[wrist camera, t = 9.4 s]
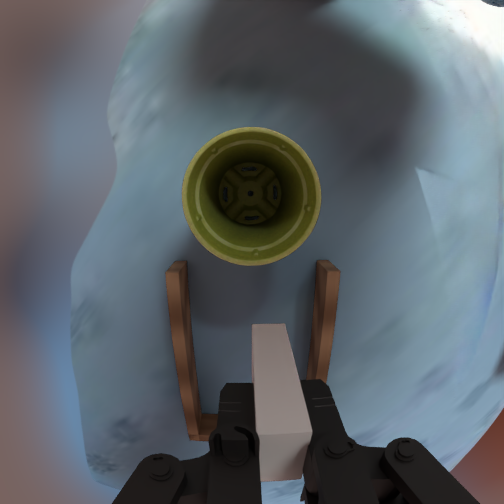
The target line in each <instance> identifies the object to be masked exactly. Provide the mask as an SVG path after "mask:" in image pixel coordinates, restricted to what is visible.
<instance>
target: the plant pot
mask: <svg viewBox="0 0 504 504" xmlns="http://www.w3.org/2000/svg"><path fill="white" fill-rule="evenodd" d="M246 167H255V168H256V169H257V170H256V171H254V170H247V171H242V169H243V168H246ZM273 185H274V186H275V187H276V189H277V198H276V199H273V194H274V190H273V188H274V187H273ZM225 187H227V198H228V201H227V202H226V201H225V200H224V198H223V191H224V188H225ZM249 191H252V192H253V195H252V196H249V195H248V192H249ZM182 204H183V210H184V214H185V218H186V220H187V223H188V225H189V227H190V229H191V231H192V233H193V234H194V236H195V237H196V238H197V240H198V241H199V242H200V243H201V244H202V245H203V246H204V247H205V248H206V249H207V250H208V251H209V252H211V253H212V254H214V255H215V256H217V257H218V258H220V259H222V260H225V261H227V262H230V263H234V264H238V265H245V266H256V265H265V264H269V263H273V262H275V261H278V260H280V259H282V258H284V257H286V256H288V255H289V254H291V253H292V252H294V251H295V250H296V249H297V248H298V247H300V246H301V245H302V243H303V242H304V241H305V240H306V239H307V238H308V236H309V235H310V234H311V232H312V230H313V229H314V227H315V224H316V222H317V219H318V216H319V212H320V207H321V187H320V181H319V177H318V174H317V172H316V169H315V167H314V165H313V163H312V161H311V160H310V158H309V157H308V155H307V154H306V153H305V151H304V150H303V149H302V148H301V147H300V146H299V145H298V144H296V143H295V142H294V141H293V140H291V139H290V138H288V137H286V136H285V135H283V134H281V133H278V132H276V131H273V130H270V129H266V128H260V127H243V128H237V129H233V130H229V131H226V132H224V133H222V134H219V135H217V136H216V137H214V138H213V139H211V140H210V141H209V142H207V143H206V144H205V145H204V146H203V147H202V148H201V149H200V150H199V151H198V152H197V153H196V155H195V156H194V157H193V159H192V160H191V162H190V164H189V166H188V168H187V170H186V173H185V176H184V180H183V186H182ZM246 216H248V217H255V216H259V218H258V219H256V220H246V219H245V217H246Z"/></svg>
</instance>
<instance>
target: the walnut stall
mask: <svg viewBox="0 0 504 504" xmlns="http://www.w3.org/2000/svg"><path fill="white" fill-rule="evenodd" d="M165 274H166V286H167V297H168V307H169V316H170V324H171V333H172V340H173V348H174V355H175V362H176V368H177V375H178V381H179V387H180V393H181V398H182V404H183V409H184V414H185V419H186V424H187V429H188V434H189V438H190V440H195V441H208V439H209V436H210V434H211V432H212V431H213V430H215V429H216V428H217V419H218V414H202V412H201V405H200V398H199V390H198V382H197V374H196V365H195V356H194V347H193V337H192V326H191V315H190V302H189V288H188V273H187V261H175V262H174V263H173V264H172V265H171V267H170V268H169V269H168V270H167V271H166V272H165ZM339 281H340V270H338V269H337V268H336V267H335V266H334V265H333V264H332V263H331V262H330V261H329V260H317V266H316V282H315V296H314V309H313V320H312V331H311V341H310V351H309V360H308V369H307V377H306V380H313V379H321V380H322V381H323V382H324V383H326V381H327V375H328V369H329V363H330V356H331V349H332V342H333V335H334V327H335V319H336V310H337V301H338V291H339Z"/></svg>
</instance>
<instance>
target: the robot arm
mask: <svg viewBox="0 0 504 504" xmlns="http://www.w3.org/2000/svg"><path fill="white" fill-rule="evenodd" d="M481 1H483V2H485V3H487V4H490V5H493V6H497V7H504V0H481ZM218 410H219V411H218V419H217V428H216V429H215V430H213V431H212V432H211V434H210V436H209V439H208V441H209V447H210V451H209V452H208V453H207V454H205V455H203V456H201V457H199V458H195V459H190V460H183V461H179V460H178V459H177V458H175V457H173V456H171V455H168V454H162V453H161V454H153V455H150V456H148V457H146V458H144V459H143V460H142V461H141V462H140V463H139V465H138V466H137V468H136V469H135V471H134V472H133V474H132V475H131V477H130V478H129V479H128V481H127V482H126V484H125V485H124V487H123V488H122V490H121V491H120V493H119V494H118V495H117V497H116V499H115V500H114V501H113V503H112V504H262V497H261V482H264V481H283V480H296V479H301V478H302V474H303V476H304V481H305V484H304V487H303V491H302V494H301V499H300V501H305V504H480V503H479V502H478V501H477V500H476V499H475V498H474V497H473V496H472V495H471V494H470V493H469V492H468V491H467V490H466V489H465V488H464V487H463V486H462V485H461V484H460V483H459V482H458V481H457V480H456V479H455V478H454V477H453V476H452V475H451V474H450V473H449V472H448V471H447V470H446V469H445V468H444V467H443V466H442V465H441V464H440V463H439V462H438V461H437V459H436V458H435V457H434V456H433V455H432V454H431V453H430V452H429V451H428V450H427V449H426V448H425V447H424V446H423V445H422V444H421V443H419V442H418V441H417V440H415V439H411V438H398V439H395V440H393V441H391V442H390V443H389V444H388V445H387V447H386V448H382V447H366V446H362V445H359V444H357V443H356V442H355V440H353V439H351V438H350V437H348V436H347V434H346V432H345V429H344V426H343V423H342V421H341V418H340V415H339V412H338V410H337V407H336V406H335V402H334V399H333V398H332V394H331V391H330V388H329V386H328V385H327V384H326V383H324V382H323V381H322V380H321V379H313V380H299V376H298V372H297V368H296V364H295V360H294V356H293V352H292V349H291V345H290V341H289V337H288V333H287V329H286V326H285V324H252V383H226V385H225V386H224V387H223V389H222V390H221V391H220V400H219V409H218Z"/></svg>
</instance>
